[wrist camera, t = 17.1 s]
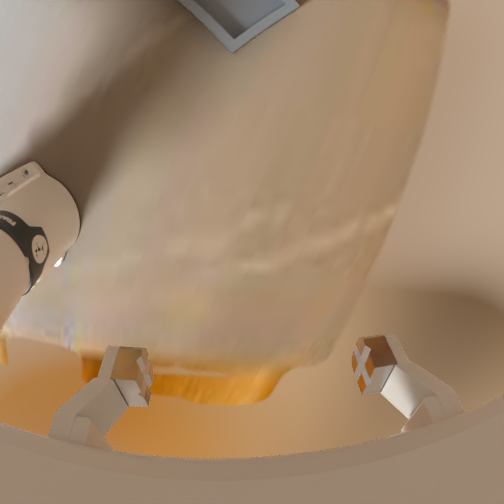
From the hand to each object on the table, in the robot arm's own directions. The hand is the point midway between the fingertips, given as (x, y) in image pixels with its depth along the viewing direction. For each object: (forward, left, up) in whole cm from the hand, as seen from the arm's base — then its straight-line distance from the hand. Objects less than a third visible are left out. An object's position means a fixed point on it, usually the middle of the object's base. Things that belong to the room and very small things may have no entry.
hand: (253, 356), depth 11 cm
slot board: (-2, +23, -34) cm, 41 cm away
